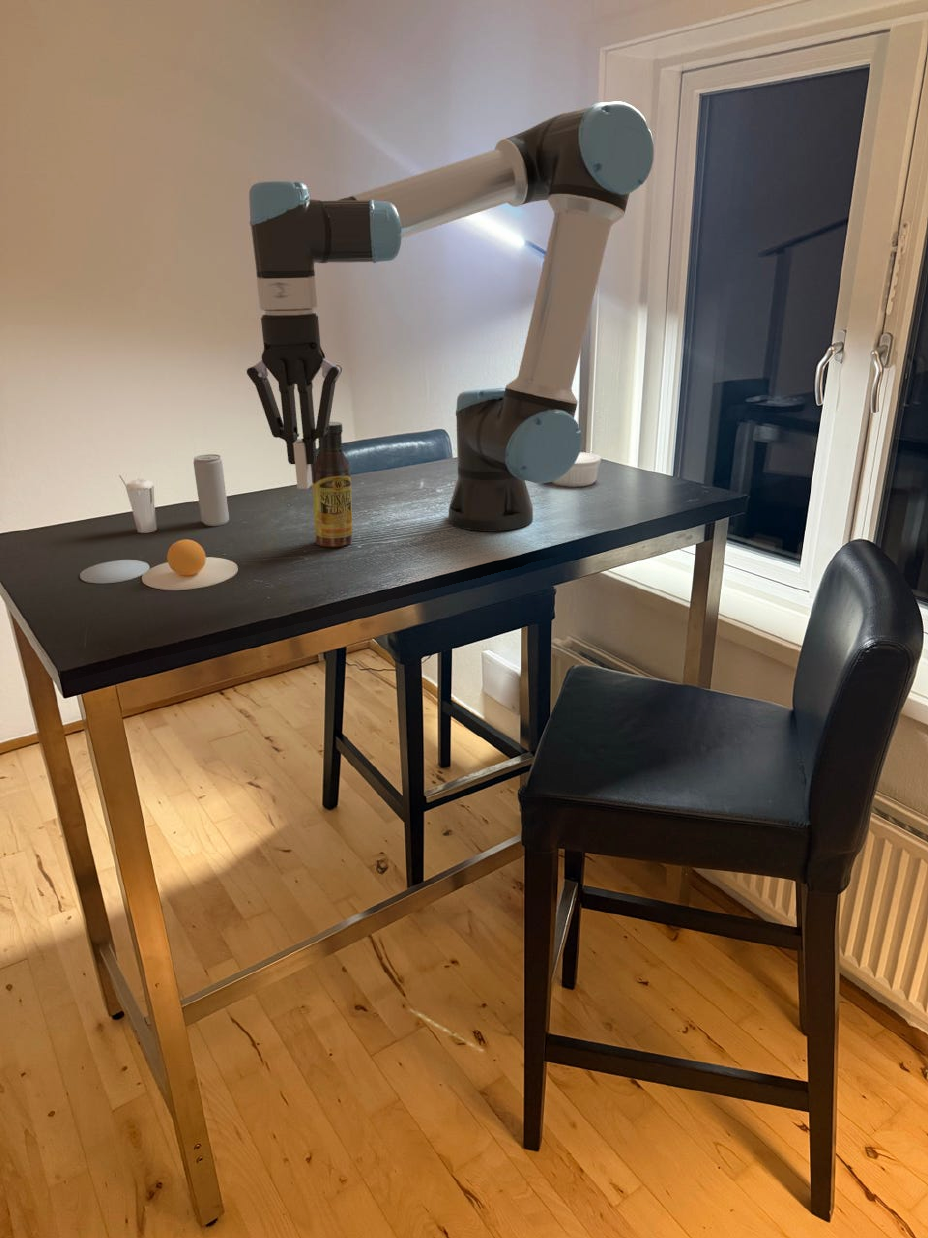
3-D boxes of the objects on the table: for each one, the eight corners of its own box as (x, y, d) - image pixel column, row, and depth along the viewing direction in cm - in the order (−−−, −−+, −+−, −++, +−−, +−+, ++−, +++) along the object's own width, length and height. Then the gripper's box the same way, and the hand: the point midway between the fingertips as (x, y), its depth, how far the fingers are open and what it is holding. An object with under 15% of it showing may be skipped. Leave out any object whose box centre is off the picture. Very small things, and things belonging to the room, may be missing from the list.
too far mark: (162, 563, 134) (162, 562, 134) (123, 586, 125) (122, 584, 125) (108, 559, 137) (107, 557, 137) (65, 580, 128) (65, 579, 128)
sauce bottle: (322, 551, 139) (312, 428, 131) (311, 541, 144) (300, 422, 136) (360, 545, 141) (352, 424, 134) (347, 535, 146) (339, 418, 139)
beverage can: (222, 527, 152) (213, 460, 147) (197, 526, 153) (187, 459, 148) (234, 519, 156) (226, 454, 151) (209, 518, 157) (201, 453, 152)
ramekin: (541, 476, 183) (541, 452, 181) (592, 474, 184) (593, 450, 182) (551, 489, 173) (552, 464, 171) (605, 487, 174) (607, 461, 172)
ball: (207, 534, 129) (172, 531, 129) (195, 552, 124) (158, 550, 125) (212, 565, 132) (177, 562, 132) (201, 584, 127) (165, 581, 128)
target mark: (254, 562, 134) (254, 560, 134) (206, 593, 122) (206, 592, 122) (176, 555, 138) (176, 554, 138) (122, 585, 125) (122, 584, 125)
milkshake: (132, 527, 153) (123, 472, 149) (163, 526, 153) (154, 471, 149) (125, 534, 148) (115, 478, 144) (157, 533, 149) (147, 477, 145)
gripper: (231, 314, 111) (252, 492, 120) (330, 313, 109) (343, 493, 119) (250, 310, 117) (268, 479, 127) (343, 309, 116) (355, 480, 125)
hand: (305, 486), depth 123 cm, fingers closed
